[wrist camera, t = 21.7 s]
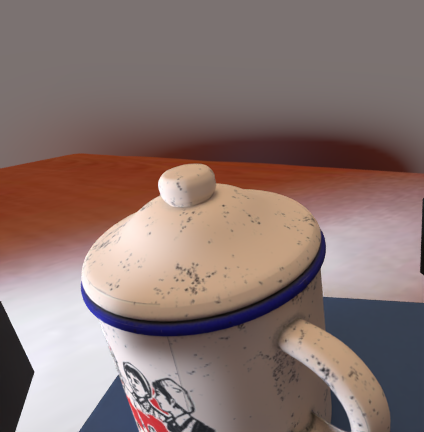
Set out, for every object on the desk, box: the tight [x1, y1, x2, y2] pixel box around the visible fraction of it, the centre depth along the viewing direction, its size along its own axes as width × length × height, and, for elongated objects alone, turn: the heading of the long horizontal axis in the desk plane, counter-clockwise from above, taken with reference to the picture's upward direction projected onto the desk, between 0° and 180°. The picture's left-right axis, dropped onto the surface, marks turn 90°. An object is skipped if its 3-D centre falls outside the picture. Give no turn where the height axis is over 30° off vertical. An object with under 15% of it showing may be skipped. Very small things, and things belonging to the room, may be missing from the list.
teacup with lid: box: [81, 164, 391, 432], centre depth 15 cm, size 12×9×12 cm
